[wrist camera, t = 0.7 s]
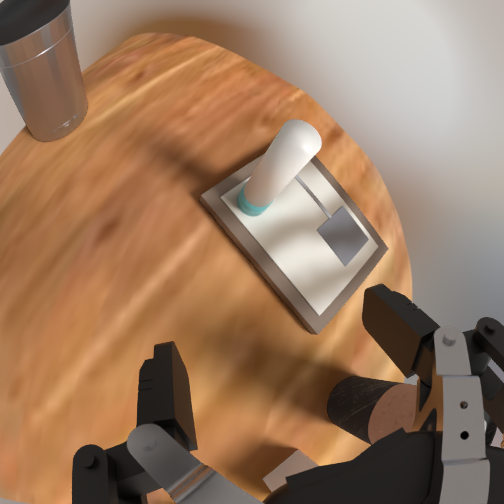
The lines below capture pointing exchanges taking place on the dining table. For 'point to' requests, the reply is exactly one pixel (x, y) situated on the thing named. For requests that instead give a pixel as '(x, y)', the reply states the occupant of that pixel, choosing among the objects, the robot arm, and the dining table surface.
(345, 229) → the board
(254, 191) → the cylinder
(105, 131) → the dining table surface
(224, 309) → the dining table surface
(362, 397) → the travel mug
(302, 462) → the white cube
